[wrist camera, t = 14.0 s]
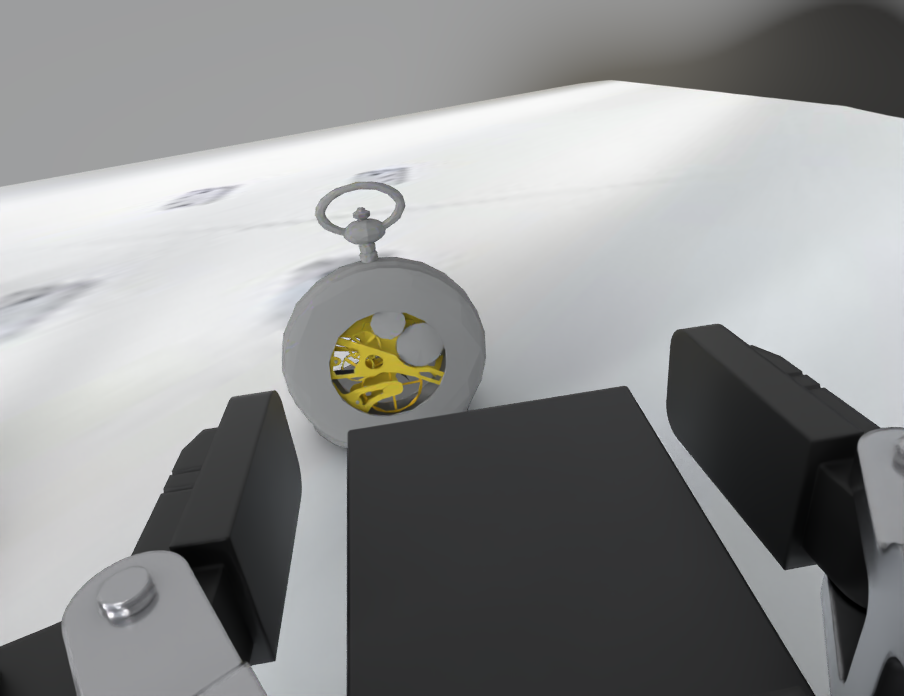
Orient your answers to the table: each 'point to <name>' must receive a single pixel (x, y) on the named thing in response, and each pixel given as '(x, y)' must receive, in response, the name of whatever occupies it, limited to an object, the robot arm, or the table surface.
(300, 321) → the pocket watch
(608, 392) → the dark grey rectangular block
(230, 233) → the table surface
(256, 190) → the table surface
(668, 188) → the table surface
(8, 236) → the table surface
